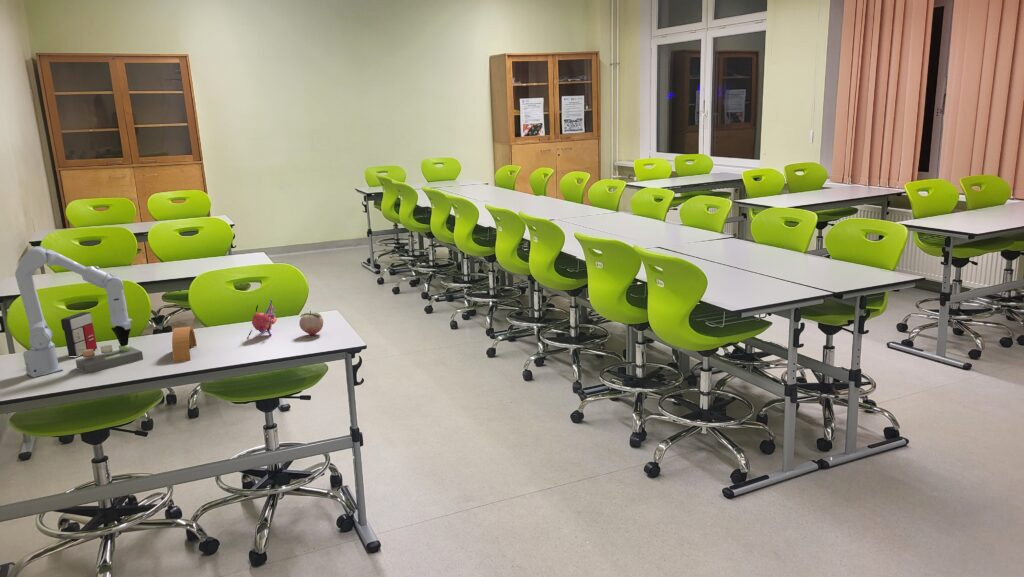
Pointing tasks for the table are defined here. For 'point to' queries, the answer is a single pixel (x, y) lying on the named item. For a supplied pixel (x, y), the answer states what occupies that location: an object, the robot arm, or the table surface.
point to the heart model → (264, 320)
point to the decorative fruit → (311, 323)
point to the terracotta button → (88, 353)
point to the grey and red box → (79, 333)
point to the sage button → (124, 348)
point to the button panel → (108, 360)
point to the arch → (182, 343)
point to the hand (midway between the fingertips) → (124, 345)
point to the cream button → (106, 349)
